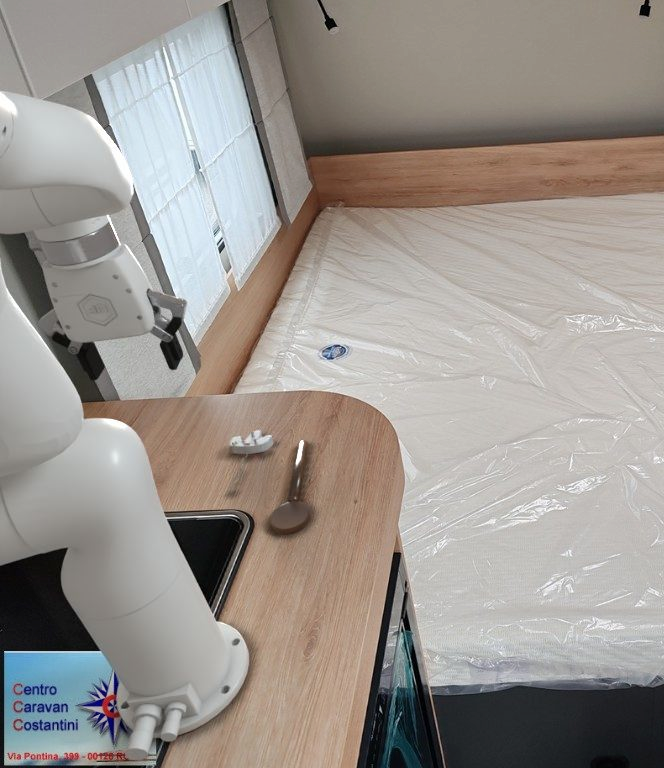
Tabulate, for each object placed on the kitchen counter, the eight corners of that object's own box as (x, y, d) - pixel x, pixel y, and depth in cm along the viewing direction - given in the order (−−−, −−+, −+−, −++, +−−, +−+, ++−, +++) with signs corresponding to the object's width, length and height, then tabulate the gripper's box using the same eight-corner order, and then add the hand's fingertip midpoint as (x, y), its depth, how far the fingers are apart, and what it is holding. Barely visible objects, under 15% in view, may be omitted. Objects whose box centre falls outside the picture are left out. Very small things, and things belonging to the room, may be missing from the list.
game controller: (274, 432, 109) (269, 418, 107) (276, 484, 100) (270, 469, 98) (234, 442, 108) (228, 427, 106) (231, 494, 99) (225, 480, 97)
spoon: (309, 531, 92) (306, 523, 91) (269, 537, 92) (266, 529, 91) (322, 443, 106) (319, 435, 105) (287, 448, 106) (285, 440, 105)
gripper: (-14, 267, 81) (56, 395, 91) (148, 247, 82) (200, 376, 92) (17, 239, 87) (78, 362, 97) (167, 220, 88) (213, 344, 98)
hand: (137, 369), depth 94 cm, fingers open, 9 cm apart
